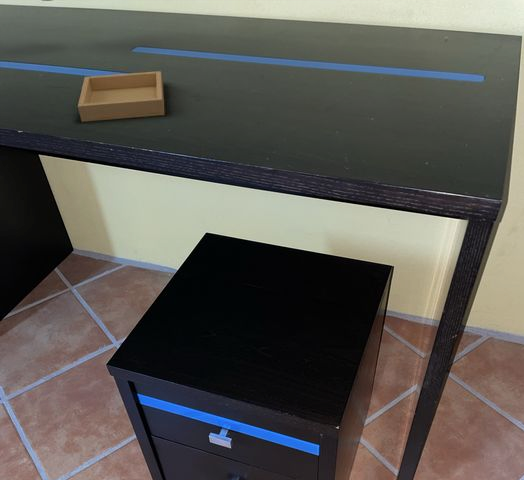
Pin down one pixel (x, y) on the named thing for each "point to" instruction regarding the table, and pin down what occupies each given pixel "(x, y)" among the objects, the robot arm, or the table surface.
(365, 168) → the table surface
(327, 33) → the table surface
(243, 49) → the table surface
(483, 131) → the table surface
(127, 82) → the tray
